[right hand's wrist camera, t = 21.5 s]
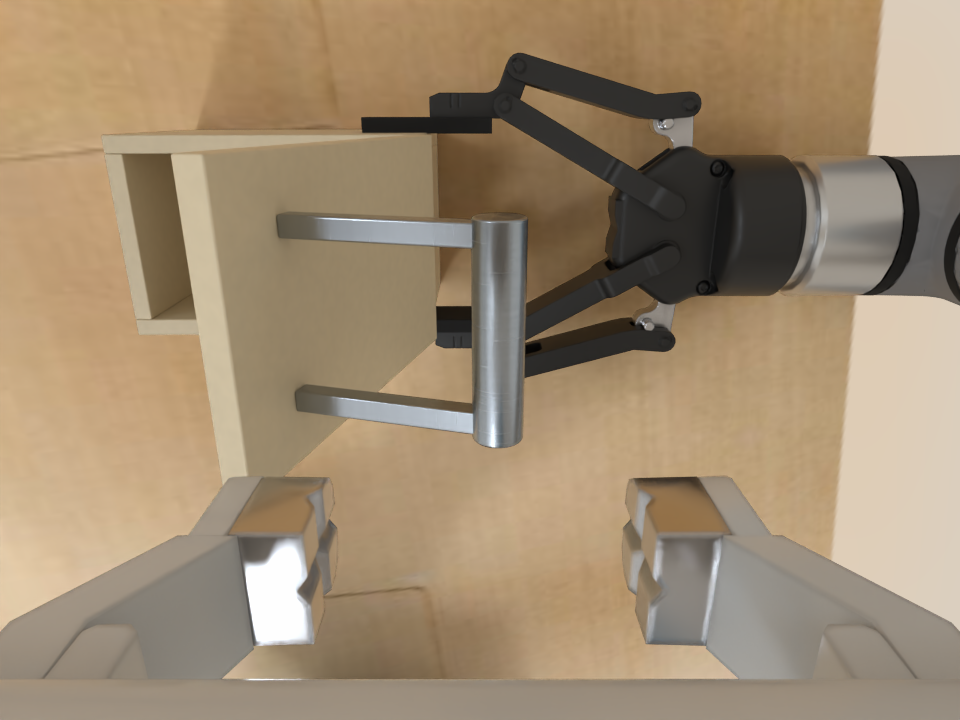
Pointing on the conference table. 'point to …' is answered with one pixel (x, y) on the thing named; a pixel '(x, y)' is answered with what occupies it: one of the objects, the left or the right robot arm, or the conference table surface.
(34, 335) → the conference table surface
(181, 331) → the chest
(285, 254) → the lid
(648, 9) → the conference table surface
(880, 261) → the left robot arm
